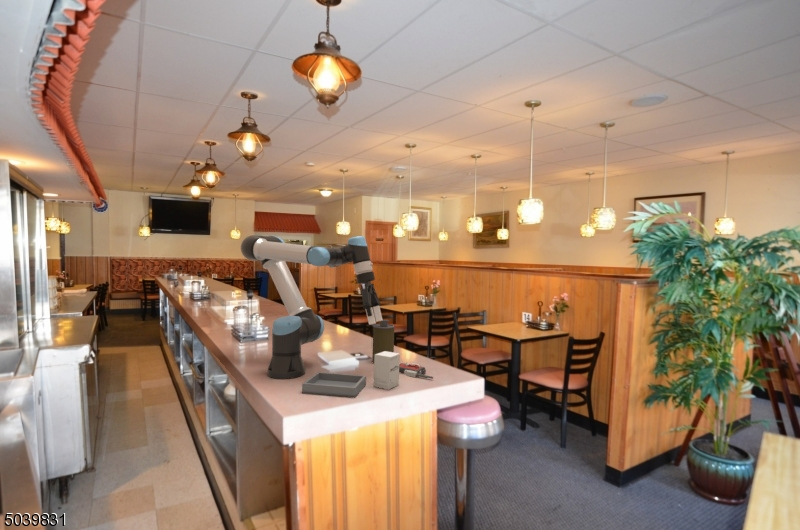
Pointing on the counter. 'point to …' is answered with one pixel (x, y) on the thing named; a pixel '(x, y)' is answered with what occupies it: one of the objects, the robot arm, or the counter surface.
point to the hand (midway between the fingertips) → (376, 322)
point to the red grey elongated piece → (413, 370)
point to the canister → (382, 338)
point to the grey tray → (334, 384)
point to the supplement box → (386, 370)
